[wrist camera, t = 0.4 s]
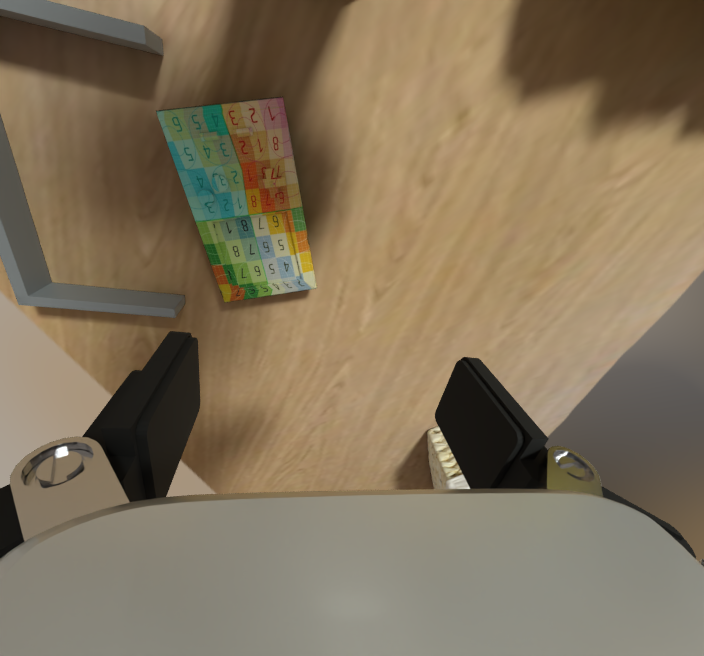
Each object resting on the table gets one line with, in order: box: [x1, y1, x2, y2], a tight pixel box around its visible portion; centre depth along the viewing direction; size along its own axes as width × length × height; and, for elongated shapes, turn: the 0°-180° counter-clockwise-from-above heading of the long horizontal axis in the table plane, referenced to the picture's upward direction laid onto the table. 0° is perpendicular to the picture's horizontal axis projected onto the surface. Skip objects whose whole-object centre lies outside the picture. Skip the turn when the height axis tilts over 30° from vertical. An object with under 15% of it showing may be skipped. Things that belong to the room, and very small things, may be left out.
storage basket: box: [427, 426, 470, 489], centre depth 62 cm, size 24×16×15 cm
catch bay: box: [0, 0, 185, 318], centre depth 32 cm, size 27×16×4 cm, turn 169°
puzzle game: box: [156, 97, 317, 303], centre depth 36 cm, size 12×5×20 cm
